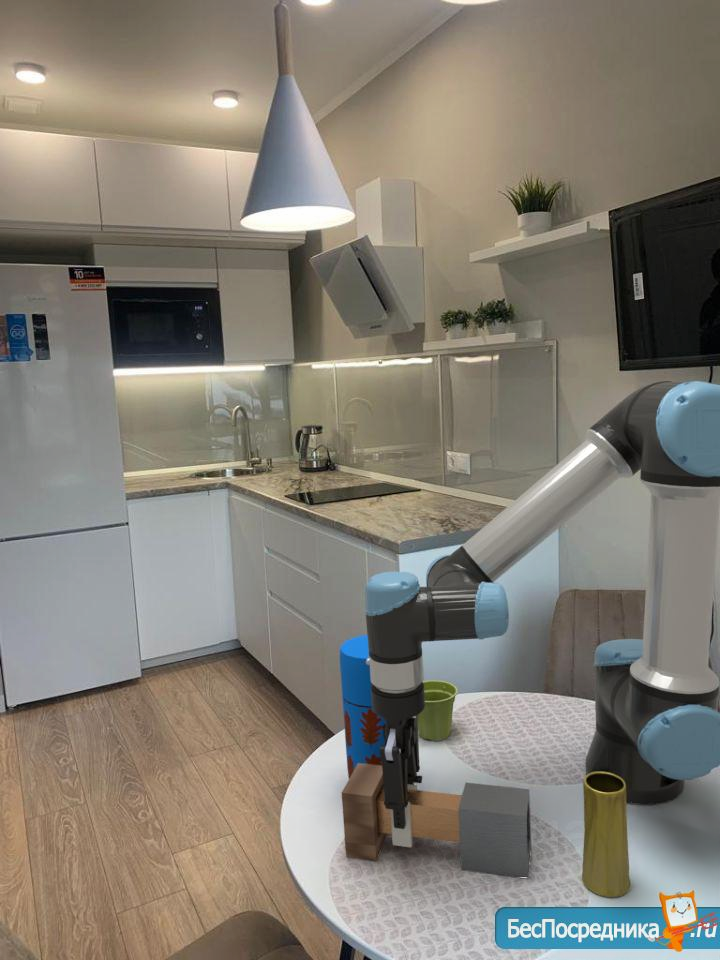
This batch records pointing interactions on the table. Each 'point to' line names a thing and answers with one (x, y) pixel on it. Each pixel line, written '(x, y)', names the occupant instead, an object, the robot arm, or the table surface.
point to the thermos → (359, 706)
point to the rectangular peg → (425, 815)
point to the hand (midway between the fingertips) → (406, 834)
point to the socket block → (362, 812)
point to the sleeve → (495, 830)
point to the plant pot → (437, 710)
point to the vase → (605, 835)
